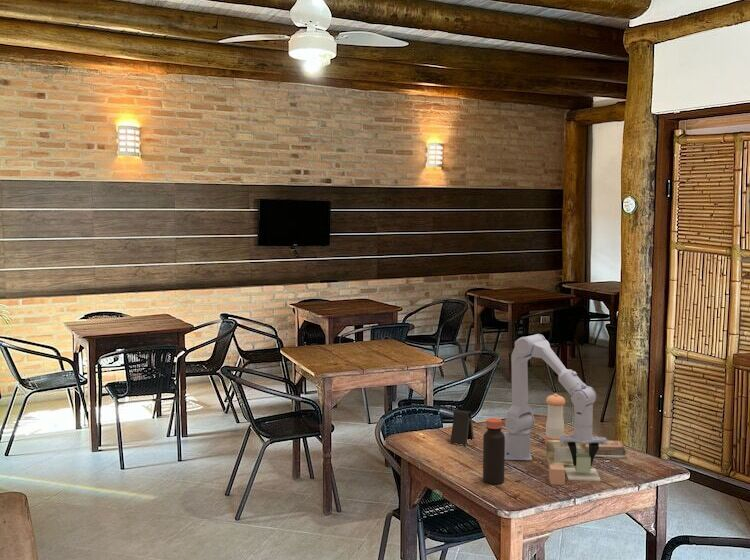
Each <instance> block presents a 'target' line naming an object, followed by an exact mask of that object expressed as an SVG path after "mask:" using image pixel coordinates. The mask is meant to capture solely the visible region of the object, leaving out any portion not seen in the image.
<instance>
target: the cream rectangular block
mask: <svg viewBox="0 0 750 560" xmlns="http://www.w3.org/2000/svg"><path fill="white" fill-rule="evenodd" d="M576 447H577V450H576V453H582V448H581V446H580V445H576ZM553 460H554V462H558V463H573V459H572V455H571V451H570V449H569V446H568V444H553Z"/></svg>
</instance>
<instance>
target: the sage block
mask: <svg viewBox="0 0 750 560" xmlns="http://www.w3.org/2000/svg"><path fill="white" fill-rule="evenodd" d="M591 467H592V466H591V457H590V455H589V453H576V466H575V467H574V468H575V470H576V472H582V473H590V471H591Z"/></svg>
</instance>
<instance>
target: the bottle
mask: <svg viewBox="0 0 750 560" xmlns="http://www.w3.org/2000/svg"><path fill="white" fill-rule="evenodd" d="M485 425H486V429H487V430H486V432H484V434H483V435H482V438H483V439H482V440H483V441H482V444H483V445H482V449H483V452H482V454H483V456H482V481H483V482H485V483H486V484H489V485H500V484H503V483H504V482H505V465H506V464H505V461H506V460H505V436H504V432H502V429H503V420H502V419H501V418H497V417H496V418H495V417H491V418H487V419H486V424H485Z"/></svg>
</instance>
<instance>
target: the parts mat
mask: <svg viewBox="0 0 750 560" xmlns="http://www.w3.org/2000/svg"><path fill="white" fill-rule="evenodd" d="M564 468H565V467H564ZM565 476H566V477H567V480H568V481H580V482H583V481H584V482H601V481H602V480H601V479H602V478H601V477H600V476H599V473H598V471H597V469H596V468H593V467H592V468H591V471H590V473H582V472H576V470H575V468H565Z"/></svg>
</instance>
